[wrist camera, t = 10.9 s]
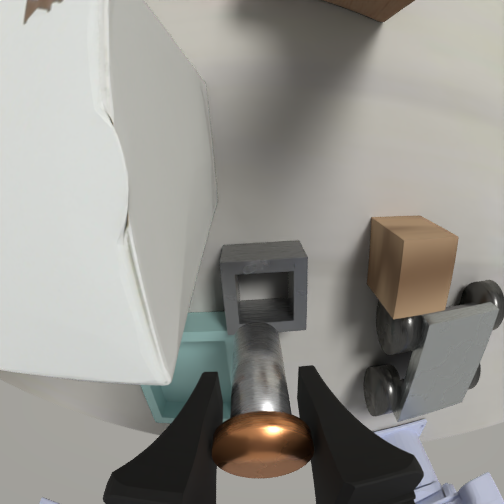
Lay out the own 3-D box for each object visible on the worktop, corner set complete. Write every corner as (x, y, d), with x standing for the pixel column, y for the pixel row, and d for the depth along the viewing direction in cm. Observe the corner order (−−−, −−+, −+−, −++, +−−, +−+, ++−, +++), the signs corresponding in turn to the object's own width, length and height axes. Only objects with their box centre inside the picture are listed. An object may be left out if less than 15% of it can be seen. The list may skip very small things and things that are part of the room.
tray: (246, 403, 26) (246, 423, 23) (160, 402, 26) (155, 422, 23) (236, 310, 22) (235, 330, 20) (132, 313, 22) (122, 332, 20)
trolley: (451, 370, 26) (472, 401, 21) (361, 391, 26) (376, 431, 21) (481, 271, 22) (515, 297, 17) (380, 284, 22) (408, 319, 17)
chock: (412, 278, 22) (444, 310, 17) (366, 283, 22) (393, 319, 17) (419, 215, 20) (458, 236, 15) (371, 217, 20) (404, 240, 15)
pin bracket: (299, 306, 22) (306, 329, 19) (229, 310, 22) (227, 335, 19) (299, 240, 20) (307, 257, 18) (223, 245, 20) (219, 262, 18)
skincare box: (114, 97, 17) (-95, 68, 2) (213, 78, 17) (121, -78, 2) (128, 219, 20) (-35, 369, 5) (225, 209, 20) (177, 403, 5)
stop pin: (290, 363, 17) (310, 473, 10) (226, 367, 17) (219, 479, 10) (290, 309, 15) (318, 424, 9) (218, 313, 15) (203, 430, 9)
